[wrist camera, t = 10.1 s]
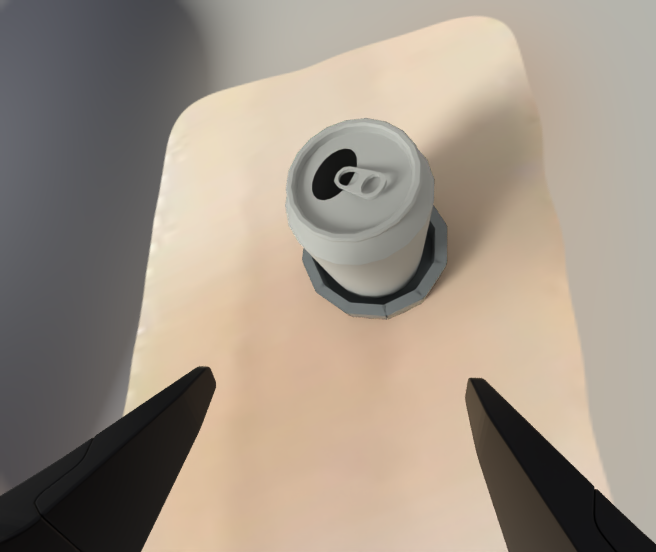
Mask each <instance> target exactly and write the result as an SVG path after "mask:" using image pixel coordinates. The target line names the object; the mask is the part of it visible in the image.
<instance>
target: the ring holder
mask: <svg viewBox="0 0 656 552" xmlns="http://www.w3.org/2000/svg"><path fill="white" fill-rule="evenodd" d="M302 260H303V264H304V266H305V268H306V271H307V273H308V275H309V277H310V280H311V282H312V284H313V287H314V289H315V291H316V292H317V293H318V294H319V295H321V296H322V297H324V298H325V299H327V300H328V301H329V302H331V303H332V304H334V305H335V306H337V307H338V308H339V309H341V310H342V311H344V312H345V313H347V314H348V315H350V316H352V317H362V318H369V319H387V318H388V319H390V318H392V317H394V316H397V315H399V314H402V313H404V312H406V311H408V310H410V309H411V308H413V307H415V306H417V305H420V304H421V303H422V302H423V301H424V299H425V298H426V296H427V295H428V293H429V292H430V290H431V289H432V287H433V286H434V284H435V283H436V281H437V280H438V278H439V277H440V275H441V274H442V272H443V270H444V268H445V267H446V264H447V225H446V223H445V222H444V220H443V219H442V217H441V216H440V214H439V213H438V211H437V210H436V208H435V207H434V205H433V208H432V212H431V217H430V221H429V226H428V230H427V235H426V239H425V244H424V248H423V253H422V257H421V262H420V264H419V267H418V269H417V272H416V274H415V276H414V277H413V278H412V279H411V281H410V282H409V283H408V284H407V285H406V286H405V287H404V288H402V289H401V290H399V291H397V292H396V293H394V294H392V295H389V296H385V297H381V298H364V297H360V296H358V295H355V294H353V293H350V292H348V291H347V290H346V289H345V288H343V287H342V286H341V285H340V284H339V283H338V282H337V281H336V280H335V279H334V278H333V277H332V276H331V275H330V274H329V273H328V272H327V271H326V270H325V269H324V268H323V267H322V266H321V265H320V264H319V263H318V262H317V261H316V260H315V259H314V258H313V257H312V256H311V255H310V254H309V253H308V252H307V251H306V250H305V249H303V257H302Z"/></svg>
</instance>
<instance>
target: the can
mask: <svg viewBox="0 0 656 552" xmlns="http://www.w3.org/2000/svg"><path fill="white" fill-rule="evenodd" d="M286 193H287V197H286V204H285V207H286V213H287V218H288V224H289V227H290V228H291V230H292V232H293V234H294V235H295V237H296V239H297V240H298V242H299V243H300V244H301V245H302V246H303V247H304V249H305V250H306V251H307V252H308V253H309V254H310V255H311V256H312V257H313V258H314V259H315V260H316V261H317V262H318V263H319V264H320V265H321V266H322V267H323V268H324V269H325V270H326V271H327V272H328V273H329V274H330V275H331V276H332V277H333V278H334V279H335V280H336V281H337V282H338V283H339V284H340V285H341V286H342V287H343V288H345V289H346V290H347V291H348V292H350V293H353V294H355V295H358V296H360V297H364V298H381V297H385V296H389V295H392V294H394V293H396V292H397V291H399V290H401V289H402V288H404V287H405V286H406V285H407V284H408V283H409V282H410V281H411V279H412V278H413V277H414V276H415V274H416V272H417V269H418V267H419V264H420V262H421V257H422V253H423V248H424V244H425V239H426V235H427V230H428V226H429V221H430V217H431V212H432V208H433V203H434V177H433V175H432V172H431V169H430V166H429V164H428V161H427V159H426V158H425V157H424V156H423V154H422V153H421V152H420V151H419V150H418V149H417V146H416V145H415V143H414V142H413V141H412V140H411V139H410V138H409V137H408V136H407V134H406V133H405V132H404V131H403V130H401V129H399V128H397V127H395V126H393V125H391V124H390V123H388V122H385V121H379V120H374V119H368V118H364V119H354V120H346V121H343V122H340V123H337V124H335V125H332V126H329V127H327V128H325V129H324V130H322V131H321V132H319V133H318V134H317V135H315V136H314V137H312V138H311V139H310V140H309V141H308V142H307V143H306V144H305V145H304V146H303V148H302V149H301V150H300V151H299V152H298V153H297V155H296V157H295V159H294V161H293V163H292V165H291V167H290V169H289V172H288V178H287V185H286Z"/></svg>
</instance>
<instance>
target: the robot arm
mask: <svg viewBox="0 0 656 552" xmlns="http://www.w3.org/2000/svg"><path fill="white" fill-rule="evenodd" d="M215 388H216V381H215V378H214V376H213V373H212V371H211V369H210V368H209V367H205V366H199V367H197V368H195V369H193V370H192V371H191V372H189V373H188V374H186V375H185V376H183V377H182V378H180V379H179V380H177V381H176V382H174V383H173V384H171V385H170V386H168V387H167V388H165V389H164V390H162V391H161V392H159V393H158V394H156V395H155V396H153V397H152V398H150V399H149V400H148V401H146V402H145V403H143V404H142V405H140V406H139V407H137V408H136V409H134V410H133V411H131V412H130V413H128V414H127V415H125V416H124V417H122V418H121V419H119V420H118V421H116V422H115V423H114V424H112V425H111V426H109V427H107V428H106V429H105V430H103V431H102V432H100V433H99V434H97V435H96V436H95V437H94V438H91V439H90V440H88V441H87V442H85V443H84V444H82V445H81V446H79V447H78V448H76V449H75V450H73V451H72V452H70V453H69V454H67V455H66V456H64V457H63V458H61V459H59V460H58V461H56V462H55V463H53V464H51V465H50V466H48V467H47V468H45V469H43V470H42V471H40V472H39V473H37V474H36V475H34V476H32V477H30V478H29V479H27V480H25V481H24V482H22V483H21V484H19V485H17V486H16V487H14V488H13V489H11V490H9V491H7V492H6V493H4V494H2V495H1V496H0V552H141V551H142V549H143V547H144V545H145V542H146V540H147V538H148V536H149V534H150V532H151V530H152V528H153V526H154V524H155V522H156V520H157V518H158V516H159V514H160V511H161V509H162V507H163V505H164V503H165V501H166V499H167V497H168V495H169V493H170V491H171V489H172V487H173V485H174V483H175V480H176V478H177V476H178V474H179V472H180V470H181V468H182V466H183V464H184V462H185V460H186V458H187V456H188V454H189V452H190V449H191V447H192V445H193V443H194V441H195V439H196V437H197V435H198V433H199V431H200V428H201V426H202V423H203V421H204V418H205V415H206V413H207V410H208V407H209V405H210V402H211V399H212V397H213V394H214V391H215ZM465 401H466V406H467V411H468V416H469V420H470V425H471V430H472V435H473V439H474V444H475V448H476V453H477V456H478V460H479V463H480V466H481V469H482V472H483V475H484V478H485V481H486V484H487V487H488V490H489V493H490V497H491V500H492V503H493V506H494V509H495V512H496V515H497V518H498V521H499V524H500V527H501V530H502V533H503V536H504V539H505V542H506V545H507V548H508V552H656V544H655V543H654V542H653V541H652V540H651V539H649V538H648V537H647V536H646V535H645V534H644V533H643V532H642V531H641V530H639V529H638V528H637V527H636V526H635V525H634V524H633V523H632V522H631V521H630V520H629V519H628V518H627V517H626V516H625V515H624V514H622V513H621V512H620V511H619V510H618V509H617V508H616V507H615V506H614V505H613V504H612V503H611V502H610V501H609V500H608V499H607V498H606V497H605V496H604V495H603V494H602V493H601V492H600V491H599V490H597V489H595V488H594V486H593V485H592V484H591V483H590V482H589V481H588V480H587V479H586V478H585V477H584V476H583V475H582V474H581V473H580V472H579V471H578V470H577V469H576V468H575V467H574V466H573V465H572V464H571V463H570V462H569V461H568V460H567V459H566V458H565V457H564V456H563V455H562V454H560V453H559V452H558V451H557V450H556V449H555V448H554V447H553V446H552V445H551V444H550V443H549V442H548V441H547V440H546V439H545V438H544V437H543V436H542V435H541V434H540V433H539V432H538V431H537V430H536V429H535V428H534V427H533V426H532V425H531V424H530V423H529V422H528V421H527V420H526V419H525V418H524V417H522V416H521V415H520V414H519V413H518V412H517V411H516V410H515V409H514V408H513V407H512V406H511V405H510V404H509V403H508V402H507V401H506V400H505V399H504V398H503V397H502V396H501V395H500V394H499V393H498V392H497V391H496V390H495V389H494V388H493V387H492V386H491V385H490V384H489V383H488V382H487V381H486V380H484V379H482V378H469V379H468V383H467V389H466V395H465ZM594 489H595V490H594Z"/></svg>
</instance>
